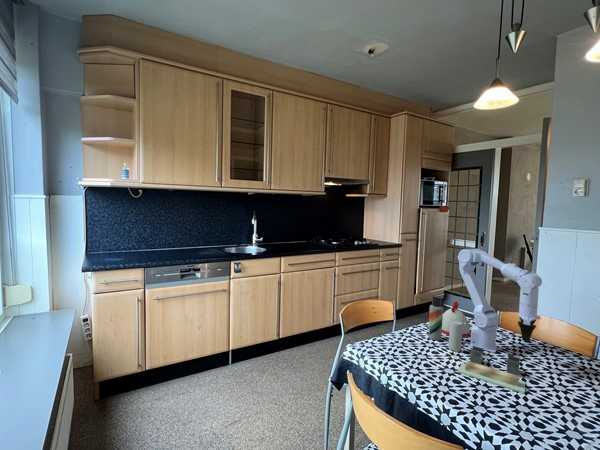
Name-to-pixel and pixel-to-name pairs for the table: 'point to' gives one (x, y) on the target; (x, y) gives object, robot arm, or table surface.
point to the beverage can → (455, 336)
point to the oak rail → (492, 373)
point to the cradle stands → (511, 361)
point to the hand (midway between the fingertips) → (526, 337)
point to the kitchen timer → (455, 315)
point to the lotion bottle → (435, 319)
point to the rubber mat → (493, 380)
